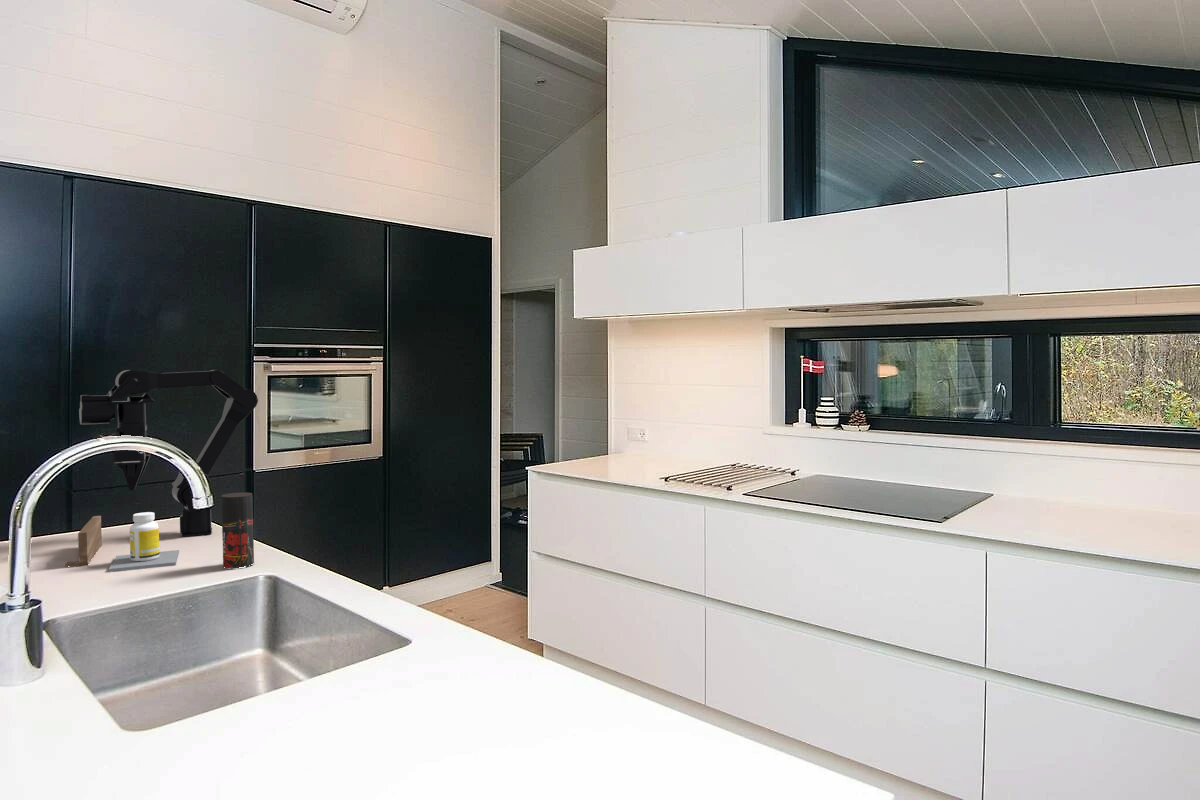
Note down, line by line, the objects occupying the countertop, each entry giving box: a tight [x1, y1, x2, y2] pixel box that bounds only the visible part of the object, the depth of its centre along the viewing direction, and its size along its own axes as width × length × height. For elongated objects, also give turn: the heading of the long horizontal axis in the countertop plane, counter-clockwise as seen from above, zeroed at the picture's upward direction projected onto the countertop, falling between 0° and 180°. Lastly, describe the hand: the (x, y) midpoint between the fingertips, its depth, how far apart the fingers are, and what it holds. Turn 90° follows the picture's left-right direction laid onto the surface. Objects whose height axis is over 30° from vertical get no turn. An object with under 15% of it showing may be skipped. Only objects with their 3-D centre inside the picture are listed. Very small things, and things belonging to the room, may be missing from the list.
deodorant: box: [221, 492, 255, 569], centre depth 161 cm, size 6×6×15 cm
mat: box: [108, 549, 180, 573], centre depth 164 cm, size 12×12×1 cm
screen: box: [64, 515, 103, 568], centre depth 169 cm, size 4×20×7 cm, turn 26°
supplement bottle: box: [129, 511, 161, 561], centre depth 164 cm, size 5×5×10 cm
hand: (133, 487), depth 183 cm, fingers open, 9 cm apart
